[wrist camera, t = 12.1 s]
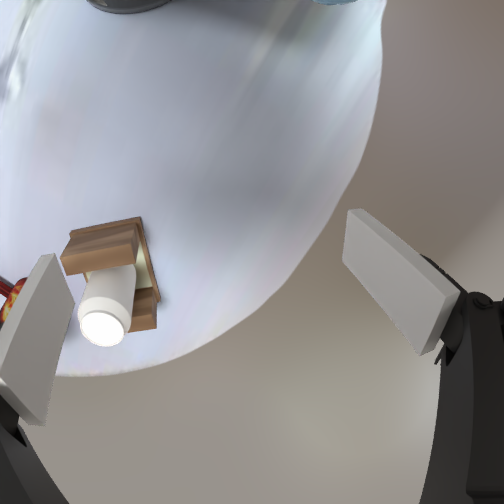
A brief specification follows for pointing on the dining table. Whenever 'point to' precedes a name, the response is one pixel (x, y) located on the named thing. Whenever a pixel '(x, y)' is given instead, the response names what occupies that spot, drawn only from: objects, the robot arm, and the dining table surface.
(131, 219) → the post bracket
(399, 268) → the robot arm
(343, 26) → the dining table surface
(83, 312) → the beverage can
